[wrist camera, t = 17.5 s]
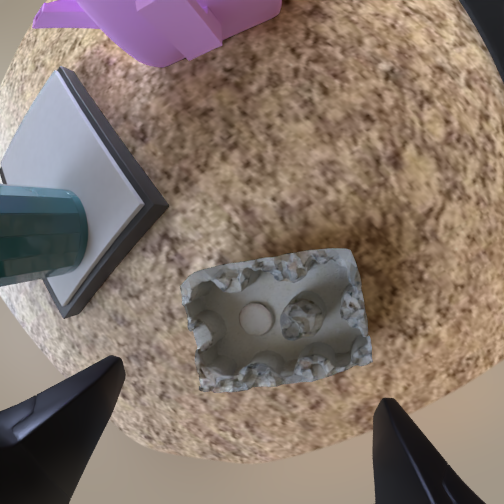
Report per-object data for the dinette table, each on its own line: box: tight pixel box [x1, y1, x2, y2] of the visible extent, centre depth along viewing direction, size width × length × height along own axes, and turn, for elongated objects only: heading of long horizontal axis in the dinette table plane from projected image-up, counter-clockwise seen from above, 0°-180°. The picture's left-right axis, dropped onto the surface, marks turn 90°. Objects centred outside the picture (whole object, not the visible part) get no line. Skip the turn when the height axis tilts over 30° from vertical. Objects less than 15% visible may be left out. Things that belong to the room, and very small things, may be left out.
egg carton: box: [180, 248, 373, 393], centre depth 18 cm, size 11×8×4 cm
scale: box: [0, 66, 169, 319], centre depth 23 cm, size 14×20×3 cm
